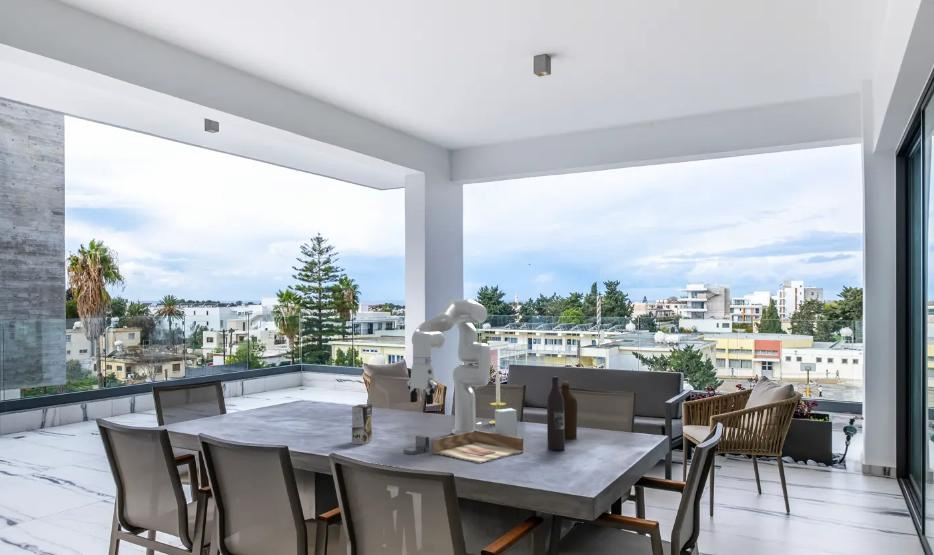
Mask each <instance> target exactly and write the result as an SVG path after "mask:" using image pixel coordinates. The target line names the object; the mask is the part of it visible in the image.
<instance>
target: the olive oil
mask: <svg viewBox="0 0 934 555" xmlns="http://www.w3.org/2000/svg"><path fill="white" fill-rule="evenodd" d="M560 392H561V394H562V396H563V399H564V428H565V440H574V439H576V438H577V436H578V435H577V428H578V425H577V424H578V399H577V398H576V396H575V395H574V393H572V392H571V391H570V382H569V381H567V380H564V381H561V389H560ZM573 438H574V439H573Z"/></svg>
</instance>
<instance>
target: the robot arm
mask: <svg viewBox="0 0 934 555" xmlns="http://www.w3.org/2000/svg"><path fill="white" fill-rule="evenodd" d="M487 318H488V311H487V308H486V306H484V305H482V303H479V302H477V301H475V300H472V299H452V300H449V301H448V302H447V303H446V304H445V306H444V307H443V308H442V309H441V311H440V312H439V313H438V314H437V315H436V316H434V317H431V318H430V319H428V320H426V321H423V322H422V323H420V324H419V325H418V326H417V327H416V329H415V330H414V331H413V334H412V335H411V343H412V365H411V369H410V370H411V371H410V378H409V379H408V380H407V381H406V384H407V388H408V391H409V393H410V403H417V402H418V392H417V391H418V390H423V391H424V390H425V392H426V396H425V398H426V402H425V403H426V405H433V404H434V394H435V393H436V391H437V387H438V384H437V382H435V375H434V369H433V368H434V367H433V365H432V358H431V356H432V352H431V351H432V350H435V349H441V348H442V347H443V346H444V344H445V342H446V337H445V335H444V334H443V333H445V332H447V331H450V330H451V329H452V328H454V326H455V325H457V328H458V335H459V337H458V347H457V348H458V350H457V358H458V360H459V361H460V362H461V363H467V365H466V364H465V365H457V366H456V367H455V368H454V369H453V371H452V380H453V385H454V386H453V387H454V410H455V411H454V413H455V414H454V428H453V429H451V433H452V435H456V434H461V433H465V432H470V431H475V430H479V429H478V428H479V427H482V425H483V424H482V422H477V421H476V394H475V391H474V390H473V388H472V387H486V386H487V385H488V384H489V382H490V374H491V364H492V362H491V361H492V351H491V347H490V346H489V344H487V343H485V342H478V331H477V329H476V327H475V326H474V324H482V323H485V321H486V320H487ZM468 363H470V364H473V363H474V364H476V363H477V365H468Z"/></svg>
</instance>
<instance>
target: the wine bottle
mask: <svg viewBox="0 0 934 555" xmlns="http://www.w3.org/2000/svg"><path fill="white" fill-rule="evenodd" d="M559 379H560V378H559V376H556V375H555V376H553V375H552V376H551V381H552V382H551V383H552V384H551V389H550V392H549V394H548V396H547V398H546V416H547V417H546V419H547V421H546V424H547V426H546V427H547V428H546V429H547V438H546V439H547V450H549V451H552V452H562V451H563V450H565V448H566V446H565V444H566V443H565V441H566V439H565V428H564V399H563V396H562V394H561V392H560V391H561V389H560V388H559V381H560V380H559ZM561 450H562V451H561Z"/></svg>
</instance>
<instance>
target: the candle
mask: <svg viewBox="0 0 934 555" xmlns="http://www.w3.org/2000/svg"><path fill="white" fill-rule="evenodd" d="M489 405H490V406H494V407H495V410H499V409H501V408H502V407H501V406H506V405H507V403H506V402H504V401H503V402H501V374H500V373H499V370H497V372H496V374H495V402H490V403H489ZM489 423H490V425H493V424H495V420H490V421H488V424H489Z"/></svg>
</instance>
